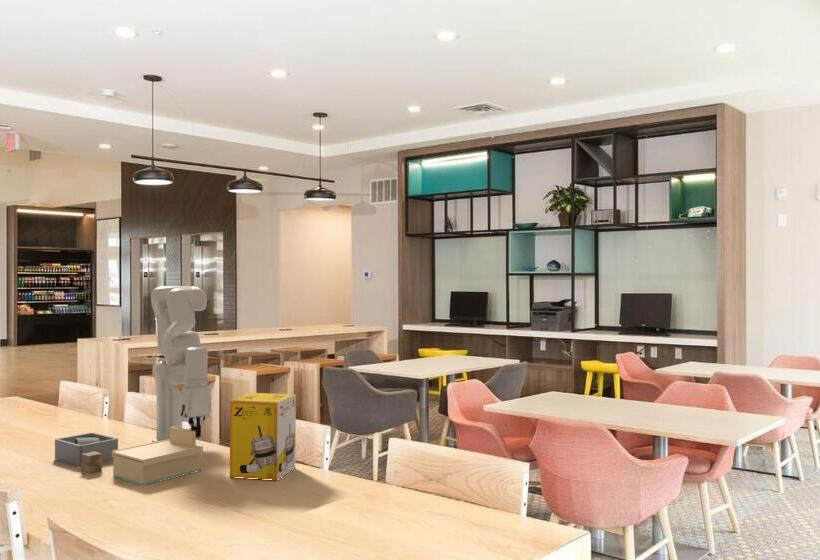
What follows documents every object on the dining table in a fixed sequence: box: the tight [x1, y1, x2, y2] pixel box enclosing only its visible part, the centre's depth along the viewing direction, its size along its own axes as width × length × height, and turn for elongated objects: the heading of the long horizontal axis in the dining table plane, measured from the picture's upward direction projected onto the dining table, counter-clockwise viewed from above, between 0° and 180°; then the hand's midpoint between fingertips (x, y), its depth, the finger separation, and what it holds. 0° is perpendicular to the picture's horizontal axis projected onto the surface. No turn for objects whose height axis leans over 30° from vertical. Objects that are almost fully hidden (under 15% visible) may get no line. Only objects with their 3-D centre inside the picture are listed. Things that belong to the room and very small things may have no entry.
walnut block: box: [80, 451, 103, 475], centre depth 250 cm, size 4×4×6 cm
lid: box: [112, 427, 204, 466], centre depth 248 cm, size 22×18×7 cm
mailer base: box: [112, 453, 202, 486], centre depth 249 cm, size 22×16×7 cm
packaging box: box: [229, 392, 297, 480], centre depth 250 cm, size 16×16×25 cm
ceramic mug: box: [74, 438, 101, 445], centre depth 268 cm, size 11×8×8 cm
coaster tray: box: [54, 432, 119, 467], centre depth 267 cm, size 14×16×7 cm
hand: (195, 436), depth 260 cm, fingers closed
